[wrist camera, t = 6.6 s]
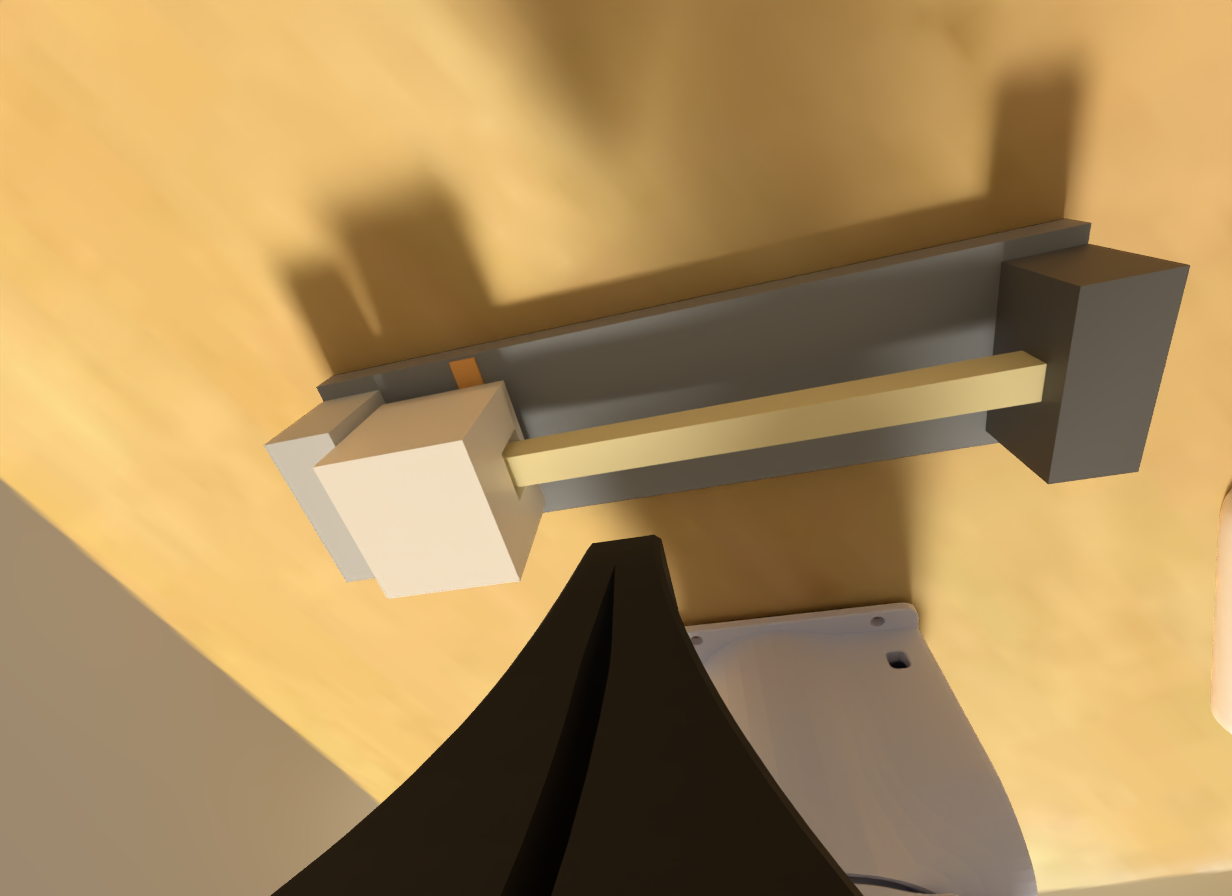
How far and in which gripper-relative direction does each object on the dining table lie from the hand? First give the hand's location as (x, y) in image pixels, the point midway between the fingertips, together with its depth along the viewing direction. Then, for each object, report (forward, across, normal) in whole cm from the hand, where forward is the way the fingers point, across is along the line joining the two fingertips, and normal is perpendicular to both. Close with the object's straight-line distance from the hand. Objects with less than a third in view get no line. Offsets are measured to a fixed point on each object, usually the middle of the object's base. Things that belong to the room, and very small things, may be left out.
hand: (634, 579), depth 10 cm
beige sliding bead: (+7, +6, 0) cm, 9 cm away
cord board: (+8, -1, 0) cm, 8 cm away
